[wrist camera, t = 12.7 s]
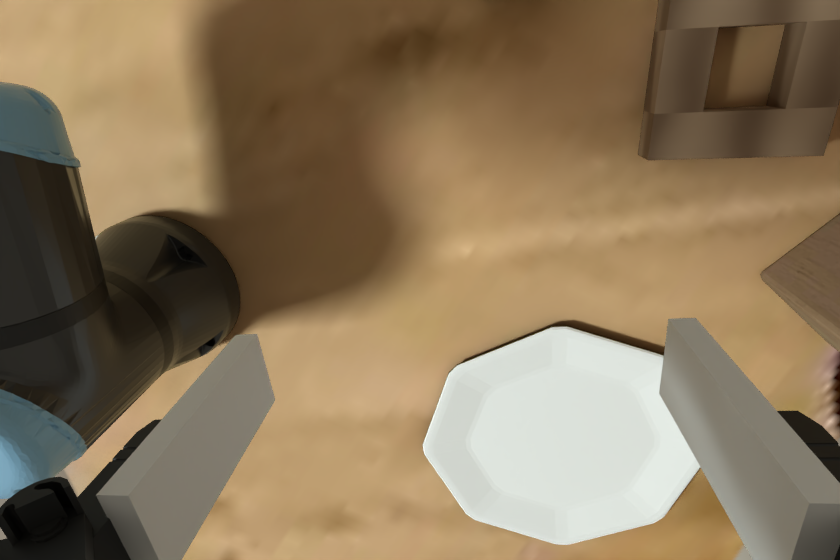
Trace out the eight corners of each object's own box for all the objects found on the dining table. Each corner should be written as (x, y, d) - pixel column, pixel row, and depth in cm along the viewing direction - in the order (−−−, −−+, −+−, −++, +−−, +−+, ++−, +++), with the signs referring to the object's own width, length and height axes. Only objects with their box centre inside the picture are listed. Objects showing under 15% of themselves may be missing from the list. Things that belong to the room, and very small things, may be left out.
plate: (385, 387, 51) (382, 395, 50) (642, 282, 43) (647, 289, 42) (499, 551, 60) (499, 563, 58) (732, 491, 51) (739, 502, 50)
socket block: (637, 154, 38) (647, 160, 36) (661, -22, 33) (674, -28, 31) (802, 149, 36) (823, 155, 34) (853, -36, 32) (881, -43, 29)
